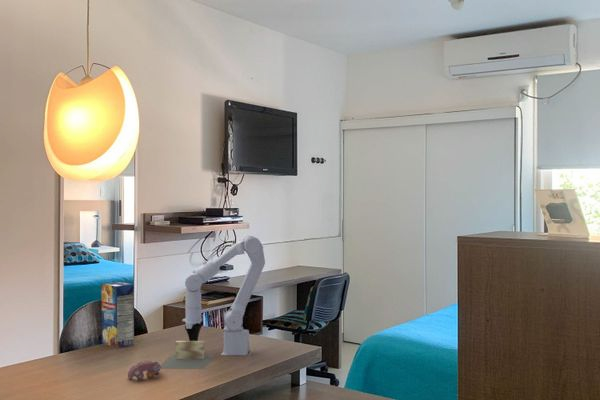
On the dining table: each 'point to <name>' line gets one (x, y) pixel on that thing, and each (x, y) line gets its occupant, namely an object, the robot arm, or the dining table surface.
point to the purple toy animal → (144, 369)
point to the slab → (190, 350)
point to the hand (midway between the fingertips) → (193, 344)
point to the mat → (186, 363)
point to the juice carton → (118, 314)
